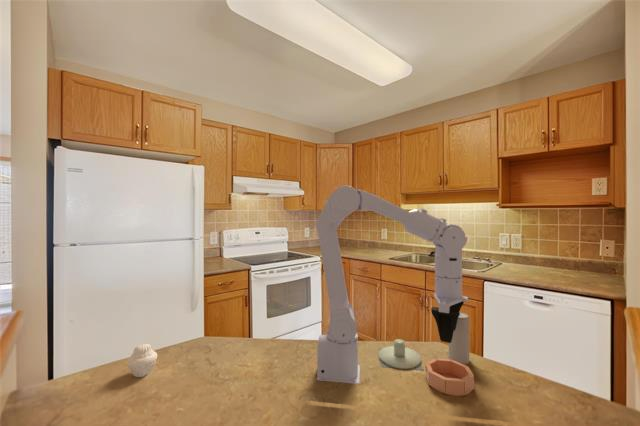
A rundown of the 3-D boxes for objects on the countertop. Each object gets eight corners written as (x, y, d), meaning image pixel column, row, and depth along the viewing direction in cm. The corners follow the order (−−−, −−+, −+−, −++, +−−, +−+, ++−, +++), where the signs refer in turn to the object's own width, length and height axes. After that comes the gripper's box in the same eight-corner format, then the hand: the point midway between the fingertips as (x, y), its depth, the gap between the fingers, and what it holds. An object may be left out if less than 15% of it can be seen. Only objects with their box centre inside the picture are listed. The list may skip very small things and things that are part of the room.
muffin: (123, 373, 68) (124, 344, 68) (152, 364, 73) (152, 336, 73) (131, 384, 64) (131, 352, 64) (161, 373, 68) (161, 343, 69)
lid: (379, 367, 70) (379, 349, 70) (378, 347, 80) (378, 332, 80) (424, 370, 68) (424, 352, 68) (417, 350, 79) (417, 334, 79)
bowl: (431, 396, 60) (431, 378, 60) (423, 372, 69) (423, 357, 69) (478, 400, 58) (478, 382, 58) (463, 375, 67) (463, 360, 67)
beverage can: (472, 367, 71) (471, 318, 71) (451, 365, 72) (450, 317, 72) (466, 357, 76) (465, 312, 76) (446, 356, 77) (446, 310, 77)
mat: (380, 369, 70) (380, 366, 70) (379, 350, 80) (379, 347, 80) (423, 372, 69) (423, 370, 69) (416, 352, 78) (416, 350, 78)
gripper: (465, 284, 58) (465, 352, 58) (470, 272, 70) (469, 328, 70) (428, 280, 62) (428, 344, 62) (439, 269, 74) (439, 322, 74)
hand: (448, 335), depth 66 cm, fingers open, 7 cm apart
